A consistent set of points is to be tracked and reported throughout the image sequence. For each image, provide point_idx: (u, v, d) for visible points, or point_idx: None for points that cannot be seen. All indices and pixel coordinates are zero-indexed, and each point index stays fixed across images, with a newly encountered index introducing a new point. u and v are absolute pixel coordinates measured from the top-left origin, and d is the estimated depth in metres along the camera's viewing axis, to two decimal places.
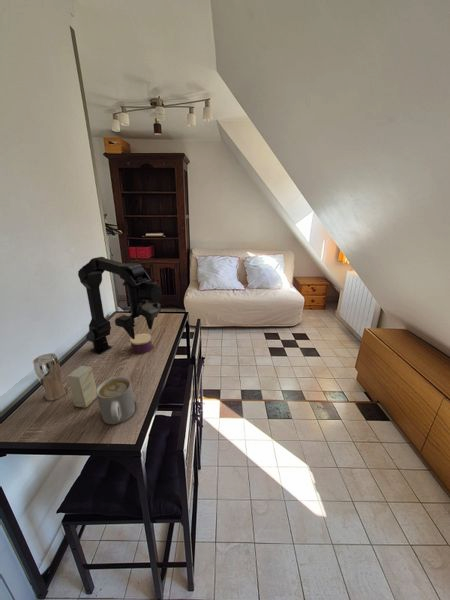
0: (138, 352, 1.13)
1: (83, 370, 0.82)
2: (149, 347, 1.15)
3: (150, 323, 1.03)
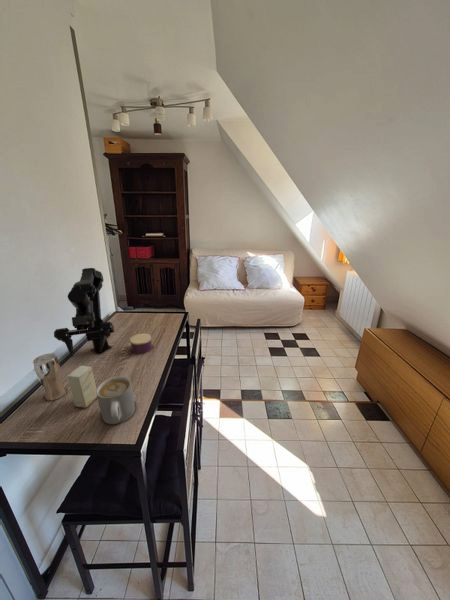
0: (138, 352, 1.13)
1: (83, 370, 0.82)
2: (149, 347, 1.15)
3: (99, 343, 0.91)
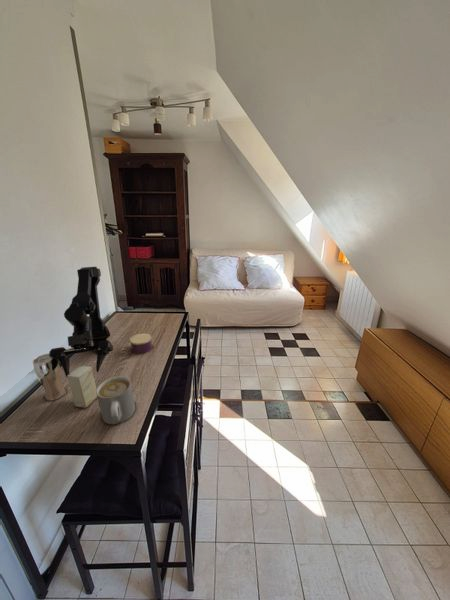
0: (138, 352, 1.13)
1: (83, 370, 0.82)
2: (149, 347, 1.15)
3: None
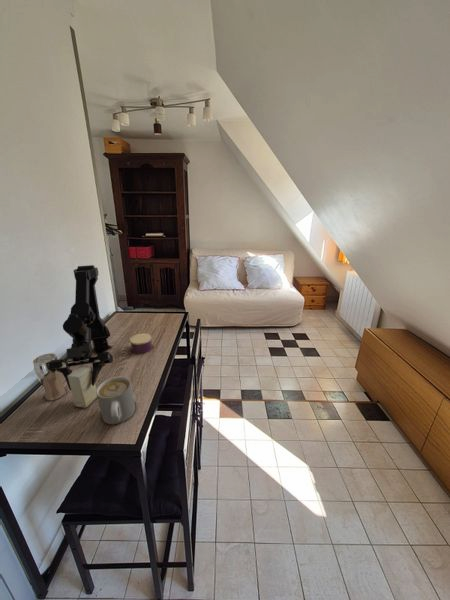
0: (138, 352, 1.13)
1: (84, 370, 0.82)
2: (149, 347, 1.15)
3: None
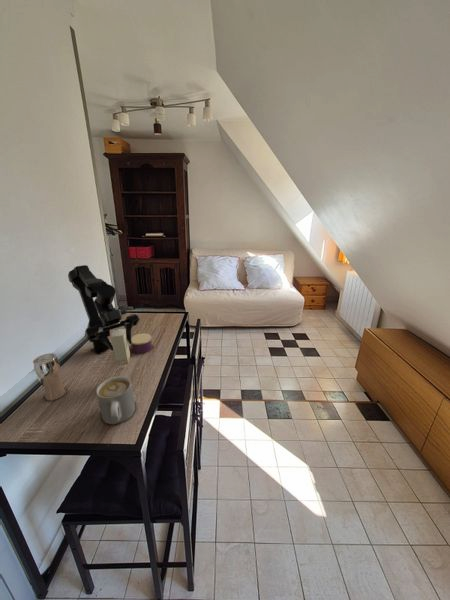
0: (138, 352, 1.13)
1: (121, 330, 0.91)
2: (149, 347, 1.15)
3: (128, 336, 0.93)
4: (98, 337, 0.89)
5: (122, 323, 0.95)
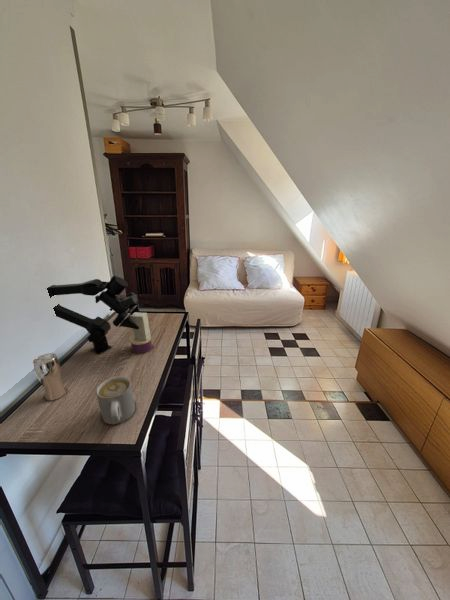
0: (138, 352, 1.13)
1: (138, 313, 1.12)
2: (149, 347, 1.15)
3: None
4: (123, 322, 1.05)
5: (130, 307, 1.15)
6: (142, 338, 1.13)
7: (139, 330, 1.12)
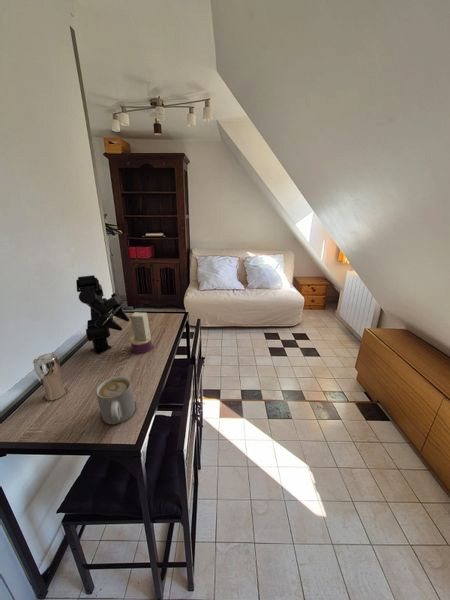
0: (138, 352, 1.13)
1: (138, 313, 1.12)
2: (149, 347, 1.15)
3: (124, 316, 1.14)
4: (105, 324, 1.03)
5: (114, 308, 1.13)
6: (142, 338, 1.13)
7: (139, 330, 1.12)
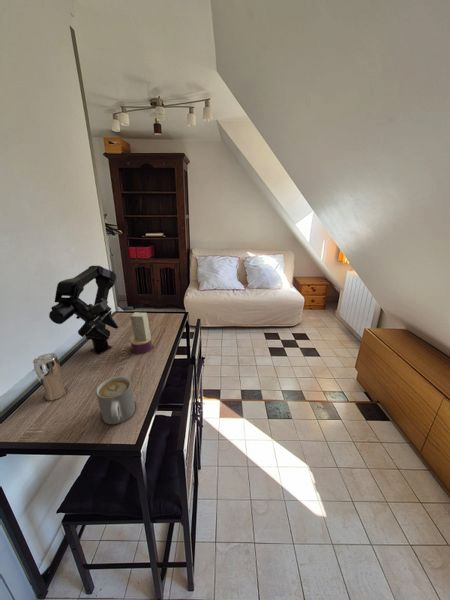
0: (138, 352, 1.13)
1: (138, 313, 1.12)
2: (149, 347, 1.15)
3: (113, 323, 1.07)
4: (90, 332, 0.95)
5: (101, 314, 1.05)
6: (142, 338, 1.13)
7: (139, 330, 1.12)
